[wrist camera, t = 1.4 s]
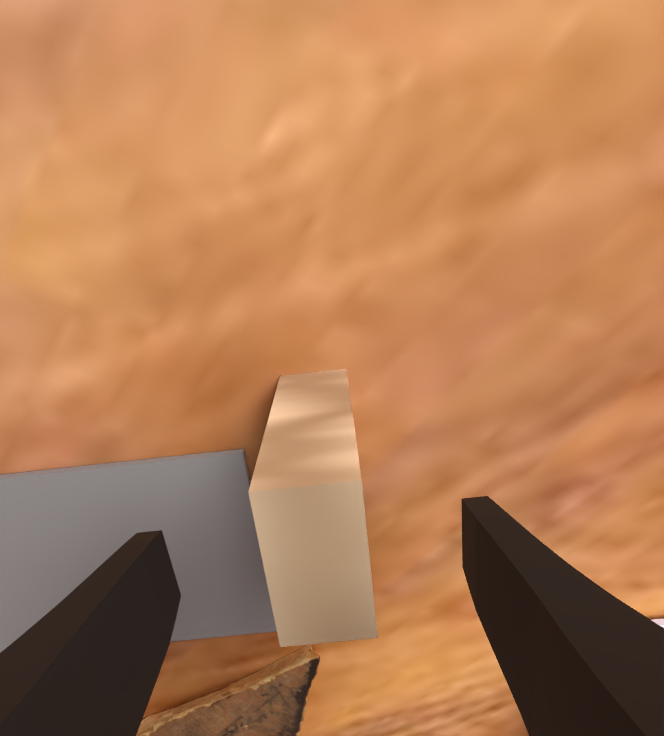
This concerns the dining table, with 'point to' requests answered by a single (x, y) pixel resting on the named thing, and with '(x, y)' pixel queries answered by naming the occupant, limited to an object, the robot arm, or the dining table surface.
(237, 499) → the felt mat
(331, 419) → the beech block
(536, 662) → the robot arm
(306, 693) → the shard
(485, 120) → the dining table surface
